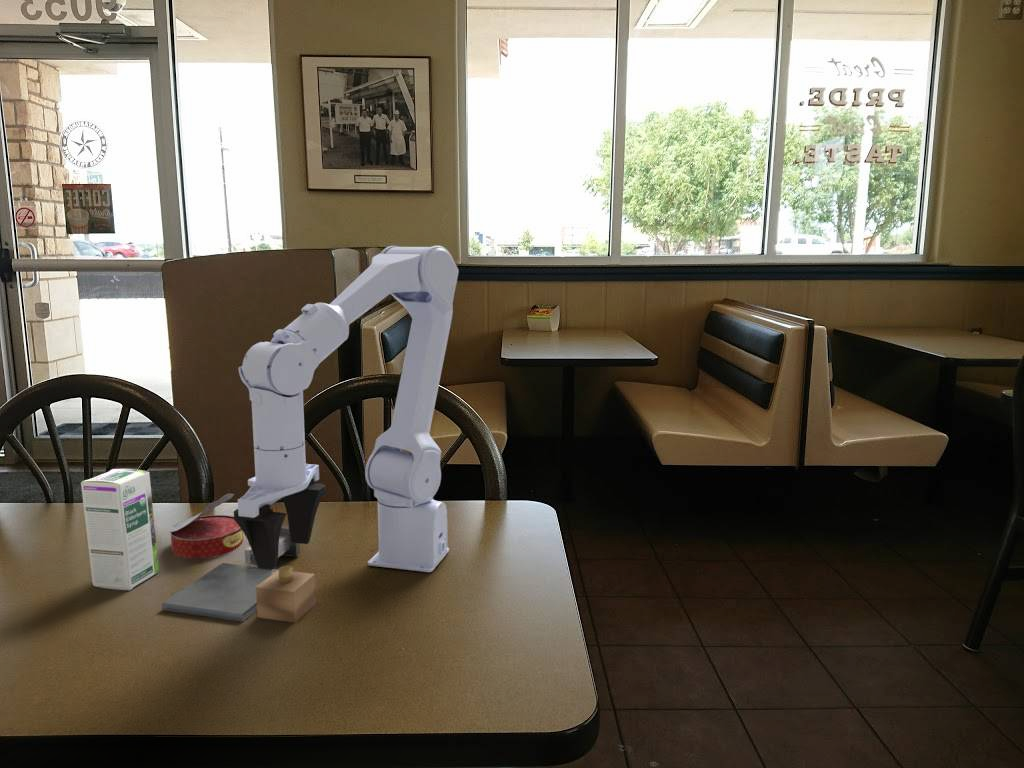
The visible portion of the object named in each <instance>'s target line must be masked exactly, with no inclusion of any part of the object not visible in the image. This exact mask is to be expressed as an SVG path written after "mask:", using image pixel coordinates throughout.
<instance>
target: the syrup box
mask: <svg viewBox="0 0 1024 768" xmlns="http://www.w3.org/2000/svg"><path fill="white" fill-rule="evenodd" d="M80 486H81V494H82V495H81V497H82V504H83V511H84V514H83V515H84V521H85V530H86V537H87V539H86V540H87V547H88V556H89V557H88V558H89V563H90V566H89V567H90V572H91V582H92V583H91V584H92V585H93V587H96V588H102V589H111V590H119V591H131V590H133V589H134V588H135V587H136V586H138V585H140V584H141V583H143V582H145V581H146V580H148V579H149V578H151V577H153V576H154V575H157V574H158V573H159V572H160V567H159V559H158V547H157V546H158V545H157V536H156V528H155V527H156V526H155V519H154V518H155V514H154V508H153V507H154V506H153V496H152V487H151V475H150V472H149V471H147V470H142V469H135V468H112V469H110V470H109V471H107V472H104V473H101V474H99V475H97V476H94V477H92V478H89V479H85V480H82V481H81V482H80Z"/></svg>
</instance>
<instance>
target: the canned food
mask: <svg viewBox="0 0 1024 768" xmlns="http://www.w3.org/2000/svg"><path fill="white" fill-rule="evenodd" d="M234 496H235V494H234V493H227V494H225V495H223V496H221V497H220V498H219V499H217V500H215V501H212V502H211V503H209V505H208V506H206V507H205V508H204V509H203V511H202V512H200V513H197V514H196V515H194V516H192V517H190V518H189V517H188V518H187V519H186V520H183V521H181V522H179V523H177V524H175V525H174V526H172V528H171V529H170V531H169V532H170V538H171V539H170V540H171V550H172V553H173V555H175V554H176V555H177V557H179V556H180V558H183V557H186V558H185V559H192V558H197V559H208V558H215V557H218V555H219V556H223V555H226V554H229V553H231V552H233V550H234V551H235V550H237V549H238V547H239V546H240V545H241V544H242V545H243V543H244V535H243V534H244V532H243V531H242V529H241V528H240V526H239V525H238V524H237V523H236V521H235V520H234V516H232V515H226V514H225V515H224V514H223V515H222V514H214V515H206V514H207V513H209V512H210V511H212V510H213V509H215V508H216V507H219V506H221V505H222V504H223V503H225V502H227V501H229V500H230V499H231V498H233V497H234ZM205 515H206V516H205ZM242 542H243V543H242ZM242 545H241V546H242ZM241 546H240V547H241ZM240 547H239V548H240ZM236 548H237V549H236ZM228 552H229V553H228ZM225 553H226V554H225ZM222 554H223V555H222ZM176 555H175V556H176ZM214 556H215V557H214Z"/></svg>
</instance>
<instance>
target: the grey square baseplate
mask: <svg viewBox="0 0 1024 768" xmlns="http://www.w3.org/2000/svg"><path fill="white" fill-rule="evenodd" d="M278 570H279V569H275V568H274V569H265V568H258V566H251V565H242V564H235V563H225V562H222V563H221V564H218V565H217V566H216V567H214V568H213V569H212V570H209V572H207V573H205V574H204V575H202V576H201V577H199V578H198V579H196V580H195V581H193V582H191V583H189V584H188V585H187V586H185V587H184V588H182V589H181V590H179V591H178V592H176V593H175V594H173V595H172V596H170V597H168V598H167V599H165V600H164V601H163V602H162V603H161V605H162V606H161V608H162V611H165V612H170V613H171V612H172V613H180V614H187V615H193V616H198V617H199V616H200V617H205V618H214V619H219V620H220V619H221V620H228V621H236V622H240V623H241V622H242V623H244V622H245V621H246V620H247V619H248V618H250V617H251V616H252V615H253V614H254V613H255V612H257V596H256V587H257V586H258V585H259V584H261V583H262V582H263V581H265V580H266V579H267V578H268V577H270V576H271V575H272V574H274V573H275V572H276V571H278Z"/></svg>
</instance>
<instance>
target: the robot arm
mask: <svg viewBox="0 0 1024 768" xmlns="http://www.w3.org/2000/svg"><path fill="white" fill-rule="evenodd" d="M458 277H459V268H458V266H457V264H456V262H455V260H454V258H453V256H452V254H451V252H450V251H449V250H448V249H447V248H445V247H444V246H442V245H433V246H399V245H390V246H386V247H385V248H384V249H382V251H380V253H378V254H376V255H374V256H373V257H372V258H371V264H370V265H369V266H368V267H367V268H366V269H365V270H364V271H363V272H361V273H360V275H359V276H357V278H355V280H353V282H351V283H350V284H349V285H348V286H346V288H345V289H343V290H342V292H341V293H340V294H339V295H337V296H336V297H335V298H334V299H333V300H332V301H331V302H330V303H329V304H328V303H326V302H316V303H314V304H311V303H307V304H305V305H304V306H303V307H302V308H301V309H300V310H301V312H302V314H300V315H299V316H297V318H295V319H294V320H293V321H292V322H290V323H289V324H288V325H287V326H286V327H284V328H283V329H282V328H280V329H277V330H276V331H275V332H274V333H273V337H272V339H271V340H270V341H264V342H263V341H260V342H257V343H255V344H253V345H252V346H251V347H250V348H249V349H248V350H247V351H246V353H245V355H244V357H243V361H242V365H241V366H239V367H238V368H237V369H238V373H239V374H238V375H239V377H240V379H241V381H242V383H243V384H244V385H245V386H246V388H247V389H248V392H249V394H248V395H249V401H251V413H252V414H251V418H252V437H253V455H254V472H255V473H254V474H255V476H253V477H251V478H248V479H247V486H249V488H248V490H247V491H246V492H245V494H243V496H241V497H240V498H237V509H235V510H234V511H233V517H234V520H235V521H236V523H237V524H238V525H239V526H240V528H241V529H242V531H243V534H244V535H245V537H246V539H247V540H248V544H249V547H251V549H252V552H253V555H254V558H255V561H256V564H257V565H256V567H258V568H265V569H275V568H277V565H278V561H279V557H278V548H279V537H280V531H281V527H282V525H284V521H285V519H286V516H287V521H288V522H287V523H288V526H289V532H290V537H291V540H292V543H300V545H301V544H302V545H308V544H309V543H310V541H311V537H312V533H313V528H314V523H315V519H316V514H317V511H318V508H319V506H320V503H321V501H322V499H323V496H324V494H325V493H326V489H327V488H326V485H325V484H323V483H316V482H317V481H319V480H320V468H319V467H320V466H319V465H320V464H309V463H306V462H307V461H306V440H305V439H306V438H305V437H306V436H305V435H306V434H305V413H304V391H305V390H307V389H308V388H309V386H310V385H311V383H312V381H313V378H314V373H315V370H316V369H317V368H318V367H319V365H320V364H321V363H322V362H323V361H324V360H325V359H326V358H327V357H329V356H330V355H331V354H332V353H333V352H334V351H335V350H337V349H338V348H339V347H340V346H341V345H342V344H343V343H344V342H346V341H347V340H348V338H349V335H350V324H352V323H353V322H355V321H356V320H357V319H358V318H359V317H361V316H362V315H364V314H366V312H368V311H369V310H371V309H372V308H374V306H376V305H377V304H378V303H379V302H381V301H382V300H383V299H385V298H387V297H388V296H389V295H391V296H392V297H393V298H394V299H395V300H396V301H397V302H398V303H400V305H402V306H403V308H405V309H406V311H407V313H408V315H409V316H410V317H411V324H410V329H409V333H408V334H409V335H408V339H407V340H408V341H407V345H406V349H405V355H404V360H403V365H402V370H401V374H400V375H401V376H400V378H399V379H400V380H399V384H398V390H397V395H396V399H395V405H394V410H393V415H392V420H391V424H390V427H389V428H388V429H387V430H386V431H384V432H383V433H382V434H380V435H379V436H378V437H377V438H376V439H375V444H374V448H373V450H372V453H371V454H370V456H369V457H368V460H367V461H366V464H365V468H364V469H365V470H364V475H365V477H364V478H365V481H366V483H367V485H368V486H369V487H370V488H371V489H373V497H375V498H376V499H377V530H378V531H377V532H378V534H377V535H378V538H377V539H378V551H377V553H375V554H374V555H373V557H371V558H370V559H369V560H368V561H367V565H368V566H370V567H371V566H372V567H381V568H387V569H388V568H389V569H395V570H396V569H397V570H407V571H415V572H421V573H431V572H433V571H434V570H435V569H436V567H437V566H438V565H439V564H440V562H441V561H442V560H443V559H444V557H445V556H446V555H447V554H448V553H449V552H450V548H449V547H448V508H447V505H446V503H445V502H443V501H440V500H439V501H438V500H435V499H434V497H435V495H436V494H437V492H438V490H439V487H440V485H441V482H442V481H441V480H442V471H441V456H442V449H441V448H440V447H439V445H438V444H437V443H436V442H435V440H434V439H433V438H432V436H431V433H430V432H431V426H432V423H433V416H434V413H435V412H434V411H435V406H436V401H437V396H438V392H439V385H440V382H441V381H440V380H441V375H442V371H443V367H444V365H443V364H444V361H445V355H446V350H447V345H448V340H449V335H450V331H451V330H450V329H451V325H452V319H453V313H454V308H453V307H454V305H453V302H454V299H455V292H456V287H457V282H458ZM402 450H404V451H408V452H404V451H402ZM409 452H410V453H409ZM281 499H282V501H283V504H284V508H285V511H286V512H281V511H280V512H279V511H274V509H273V508H271V505H272V504H274V503H277V502H278V501H279V500H281Z"/></svg>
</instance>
